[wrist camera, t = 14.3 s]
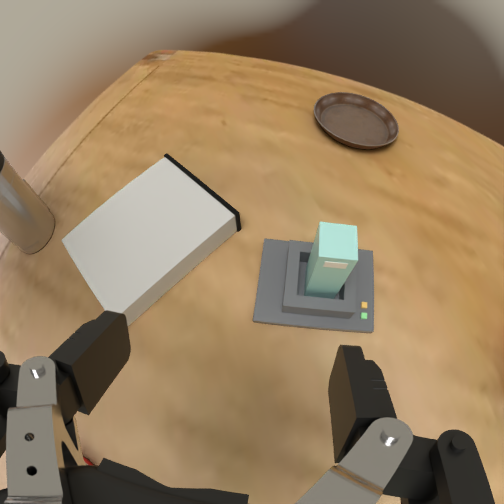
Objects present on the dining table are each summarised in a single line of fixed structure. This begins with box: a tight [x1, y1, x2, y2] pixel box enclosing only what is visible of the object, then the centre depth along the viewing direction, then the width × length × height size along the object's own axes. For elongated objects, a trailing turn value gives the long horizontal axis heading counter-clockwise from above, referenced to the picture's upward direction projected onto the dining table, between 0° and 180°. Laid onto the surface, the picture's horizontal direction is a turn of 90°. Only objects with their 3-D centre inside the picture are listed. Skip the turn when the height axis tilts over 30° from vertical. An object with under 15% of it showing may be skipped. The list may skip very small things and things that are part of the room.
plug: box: [304, 222, 358, 299], centre depth 36 cm, size 4×4×12 cm
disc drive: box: [62, 153, 241, 326], centre depth 44 cm, size 18×22×5 cm
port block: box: [253, 239, 374, 333], centre depth 40 cm, size 16×12×4 cm
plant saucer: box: [314, 92, 399, 149], centre depth 56 cm, size 18×18×3 cm
